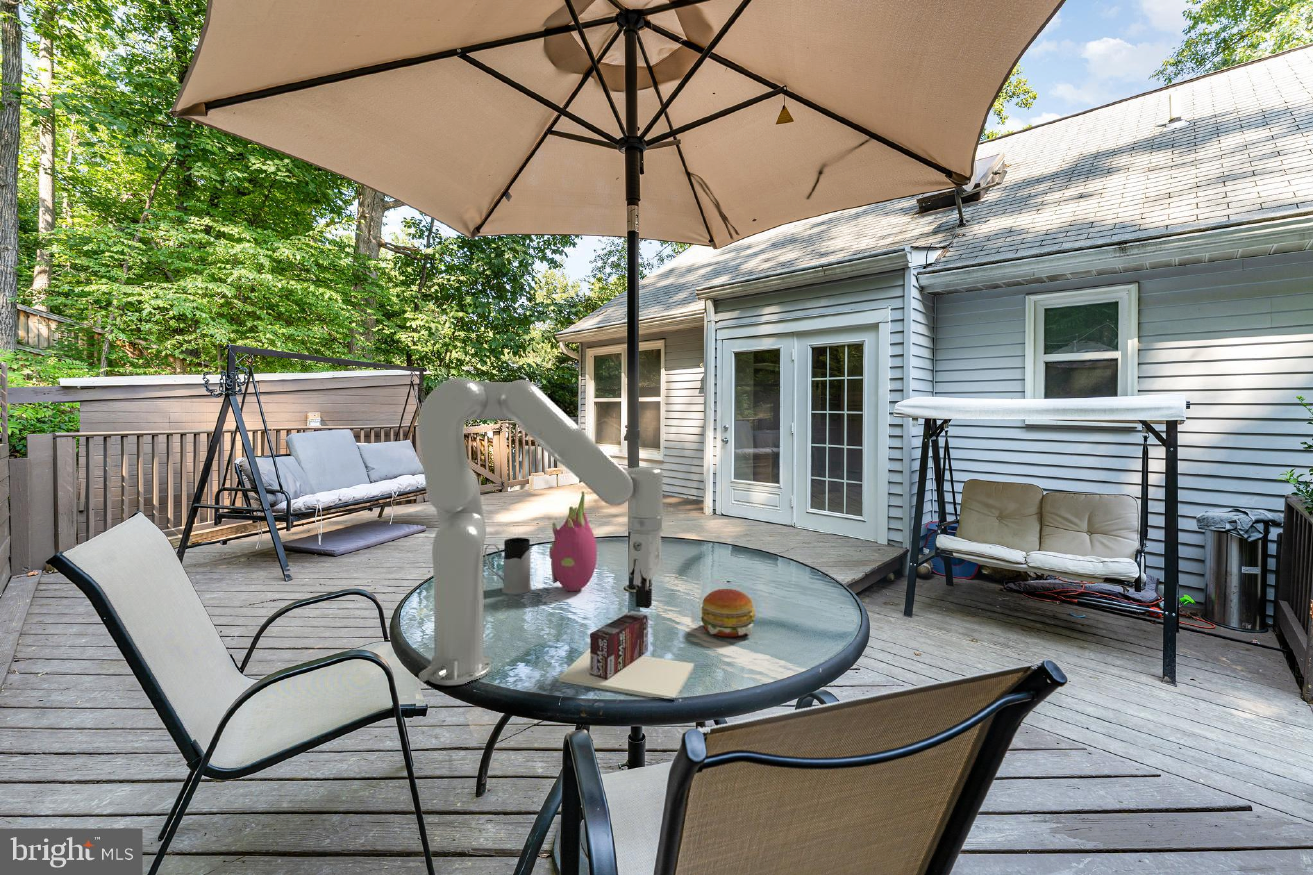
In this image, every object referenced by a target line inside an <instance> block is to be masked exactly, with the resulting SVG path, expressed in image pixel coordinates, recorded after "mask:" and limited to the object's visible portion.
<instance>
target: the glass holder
mask: <svg viewBox="0 0 1313 875" xmlns="http://www.w3.org/2000/svg"><path fill="white" fill-rule="evenodd" d="M503 545H504V546H503V548H504V550H503V551H504V552H503V556H501V554H500V549H499V546H498V545H496V544H495V543H491V544H488V545H486V547H484V559H485V563H486V565H487V567H488V569H490V571H491V572H492V573H493V574H494V575H496V576H497V577H498V578H499V579H500V580H501V581H502V584H503V587H502V588H501V590H502V593H503V594H507V595H520V594H526V593H529V592H530V591H532V588H533V587H532V586H531V539H529V538H527V537H512V538H508V539H505V540H504V543H503ZM490 546H494V547H495V548H496V549H497V554H498V555H497V556H498V558H499V559H502V560H503V577H502V576H501V575H500V574H499V573H498V572H497V571H495V570H494V569H493V567H491V565H490V563H489V561H488V558H487V549H488V547H490Z"/></svg>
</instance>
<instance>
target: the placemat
mask: <svg viewBox="0 0 1313 875" xmlns="http://www.w3.org/2000/svg"><path fill="white" fill-rule="evenodd" d="M694 668H695V663H693V662H685V661H680V660H679V661H678V660H672V659H665V658H658V657H652V656H646V655H642V656H641V657H639V658H638V659H636V660H635V661H633V662H632V663H631V664H629V665H628V666H626V667H625V668H623V669H622V670H621V671H619V672H618V673H616V674H615V675H613V676H612V677H610V678H609V679H608V680H607V679H603V678H600V677H597V676H593V675H590V674H589V671H590V647H589V648H588V649H587V650H586V651H585V652H584V653H583V654H582V655H581V656H579V657H578V659H576V660H575V661H574V662H573V663H572V664H571V665H570V666H569V667H568V668H566V670H564V672H562V673H561V674H560V675H559V676H558V677H557V678H558V679H557V680H558V682H561V683H566V684H573V685H578V686H584V687H589V688H596V689H600V690H601V689H602V690H606V691H613V692H619V693H624V694H631V695H636V696H641V697H648V698H652V697H670V698H675V697H676V696H677V695H678V696H679V694H680V693H681V691H682V689H683V688H684V685H685V684H686V682H687V681H688V679H689V677H690V675H691V673H692V672H693V670H694ZM680 690H681V691H680ZM679 692H680V693H679ZM678 696H677V697H678Z"/></svg>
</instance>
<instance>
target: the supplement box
mask: <svg viewBox="0 0 1313 875" xmlns="http://www.w3.org/2000/svg"><path fill="white" fill-rule="evenodd" d="M649 617H650V615H649V614H647V613H643V612H639V611H633V610H631V611H629V612H627V613H626V614H624V615H621V616H620V617H618V618H616V619H614V620H613V621H611V622H609V623H607V624H605V625H603V626H601V627H600V628H598V629H596V630H594V631H592V632H590V633H589V641H590V646H589V648H590V671H589V674H590V675H593V676H597V677H600V678H603V679H607V680H608V679H609V678H610V677H612V676H613V675H615V674H616V673H618V672H619V671H621V670H622V669H623V668H625V667H626V666H628V665H629V664H631V663H632V662H633V661H635V660H636V659H638V658H639V657H641V656H645V654H646V653H648V652H649Z"/></svg>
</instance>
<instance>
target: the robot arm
mask: <svg viewBox="0 0 1313 875" xmlns="http://www.w3.org/2000/svg"><path fill="white" fill-rule="evenodd" d="M468 420H469V421H471V420H472V421H475V420H476V421H477V420H478V421H479V420H480V421H481V420H482V421H513V422H514V423H515V424H516V426H518V427H519V428H520V429H521V430H523V431H524V432H525V433H526V434H527V435H528V437H530V438H531V439H532V440H533V441H534V442H535V443H537V445H538V446H540V448H541V449H543V450H544V451H545V452H546V453H547V454H549V456H551V458H553V459H554V460H555V461H556V462H558V463H560V464H561V465H562V466H563V467H565V468H566V469H567V470H568V471H569V472H571V473H572V475H573V476H575V477H576V478H577V479H579V481H580V482H582V483H583V484H584V485H585V486H586V487H587V488H588V489H590V490H591V491H592V492H593V493H594V494H595V495H596V496H597V497H598V498H599V500H601V501H602V502H603V503H605V504H606V505H609V506H612V507H613V506H614V507H615V506H621V505H624V504H626V503H627V531H628V532H629V533H630V536H629V545H628V546H629V548H628V563H627V564H628V576H629V578H631V579H633V586H634V587H635V606H636V608H642V609H650V608H651V607H652V604H653V601H652V600H653V599H652V598H653V589H652V587H653V580H654V577H655V576H656V575H657V574H658V573H659V572H661V570H662V567H663V560H662V553H663V552H662V536H661V534H662V533H661V532H662V531H663V491H664V490H663V488H664V487H663V485H664V484H663V483H664V482H663V481H664V480H663V479H664V476H663V475H664V474H663V471H662V470H661V469H660V468H657V467H652V466H651V467H650V466H638V467H633V468H631V467H621V466H620V465H619V464H618V463H617V462H616V461H615V460H614V459H613V458H611V457H610V456H609V454H607V453H606V451H604V449H602V448H601V447H600V446H599V445H597V443H596V442H594V441H593V440H592V438H590V436H589V435H588V434H587V433H586V432H585V431H584V430H583V429H582V428H581V427H580V426H579V425H578V424H577V423H576V422H575V421H574V420H573V419H572V418H571V417H570V416H569V415H568V414H566V413H565V412H564V411H563V410H562V409H561V408H560V407H559V406H558V405H556V403H555V402H554V401H552V400H551V398H549V397H548V396H547V395H546V394H545V393H544V392H543V391H542V390H541V389H540V388H538V386H536V385H535V384H534V383H533V382H530V381H529V380H526V379H517V380H514V381H512V382H511V381H509V382H507V381H506V382H504V381H480V380H479V381H478V380H473V379H470V378H467V377H462V376H461V377H459V376H458V377H454V378H450V379H448V380H445V381H444V382H442V383H440V384H439V385H438V386H436V387H435V388H434V389H433V390H431V392H430V393H429V394H428V395H427V396H426V398H425V400H424V401H423V402H422V404H421V407H420V409H419V413H418V419H417V433H418V439H419V440H418V441H419V447H420V454H421V462H422V469H423V474H424V481H425V490H426V496H427V499H428V501H429V503H430V505H431V506H432V507H433V508H434V509H435V510H436V516H437V520H438V526H439V527H438V529H437V531H436V532H435V534H434V538H433V541H432V546H431V547H432V549H431V559H432V569H433V608H434V609H433V613H434V614H433V616H434V617H433V618H434V620H433V625H434V627H433V636H434V637H433V638H434V640H433V642H434V643H433V645H434V646H433V650H434V651H433V652H434V654H433V655H434V656H431V663H430V664H429V665H428V666H427V667H426V668H425V669H423V670H422V671H421V672H419V673H418V680H420V682H423V683H424V682H426V681H429V682H430V683H431V684H432V683H433V684H435V685H439V686H459V685H460V686H461V685H464V684H465V683H466V684H468V683H467V682H469V681H471V680H474V679H478V680H480V679H482V678H484V677H486V674H487V675H488V674H489V673H490V671H491V669H492V661H491V659H490V658H489V657H487V656H485V655H484V642H485V641H484V640H485V639H484V634H485V633H484V627H485V626H484V617H485V616H484V611H485V610H484V608H485V607H484V606H485V603H484V601H485V600H484V595H485V594H484V549H485V546H484V544H485V540H486V536H487V527H486V522H485V515H484V508H483V503H482V499H481V498H482V497H481V492H480V485H479V481H478V478H477V475H476V473H475V472H474V470H473V469H472V468H471V467H470V465H469V462H468V461H469V460H468V454H467V446H466V441H465V437H464V436H465V435H464V426H465V423H466V421H468ZM479 678H480V679H479ZM466 684H465V685H466Z"/></svg>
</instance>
